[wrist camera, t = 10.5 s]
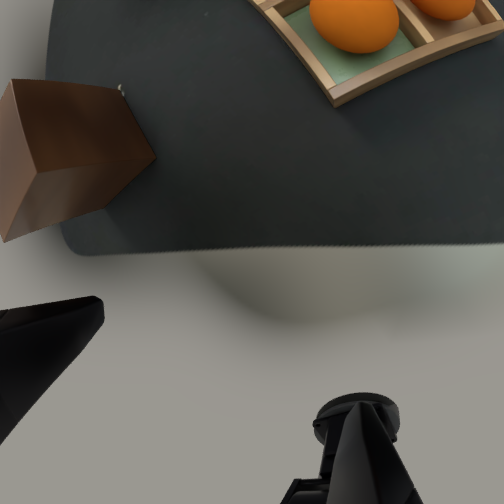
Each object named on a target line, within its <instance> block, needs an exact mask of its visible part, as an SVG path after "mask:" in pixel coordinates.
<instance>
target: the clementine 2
mask: <svg viewBox="0 0 504 504" xmlns="http://www.w3.org/2000/svg"><path fill="white" fill-rule="evenodd" d="M410 1H411V2H412V3H413V4H414V5H415V6H416V7H417V8H418V9H420V10H421V11H422V12H424V13H426V14H427V15H429V16H431V17H434V18H437V19H440V20H445V21H456V20H461V19H463V18H465V17H467V16H468V15H469V14H470V13H471V12H472V10H473V8H474V6H475V0H410Z"/></svg>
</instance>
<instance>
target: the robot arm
mask: <svg viewBox="0 0 504 504" xmlns="http://www.w3.org/2000/svg"><path fill="white" fill-rule="evenodd" d="M104 319H105V317H104V304H103V301H102V300H101V299H99V298H98V297H96V296H87V297H81V298H75V299H69V300H63V301H57V302H51V303H44V304H38V305H32V306H26V307H19V308H13V309H9V310H8V309H6V310H0V445H1V444H2V442H3V441H4V440H5V439H6V437H7V436H8V435H9V434H10V433H11V431H12V430H13V429H14V428H15V426H16V425H17V424H18V422H19V421H20V420H21V419H22V418H23V417H24V415H25V414H26V413H27V412H28V410H30V408H31V407H32V406H33V405H34V404H35V403H36V402H37V400H38V399H39V398H40V397H41V396H42V395H43V393H44V392H45V391H46V390H47V389H48V388H49V387H50V385H52V383H53V382H54V381H55V380H56V379H57V378H58V377H59V376H60V375H61V374H62V372H63V371H64V370H65V369H66V368H67V367H68V366H69V365H70V364H71V363H72V362H73V361H74V359H75V358H76V357H77V356H78V355H79V354H80V353H81V352H82V350H83V349H84V348H85V347H86V345H87V344H88V342H89V341H90V340H91V339H92V337H93V336H94V335H95V333H96V332H97V331H98V330H99V328H100V327H101V326H102V324H103V323H104ZM313 427H314V428H315V430H316V431H317V432H318V434H319V435H320V436H321V438H322V439H323V440H324V442H325V445H324V450H323V456H322V462H321V467H320V472H319V477H318V479H294V480H293V482H292V484H291V486H290V487H289V489H288V491H287V493H286V494H285V497H284V498H283V500H282V502H281V503H280V504H423V502H422V500H421V498H420V496H419V494H418V492H417V490H416V488H414V484H413V482H412V481H411V479H410V476H409V474H408V472H407V470H406V469H405V466H404V465H403V463H402V461H401V459H400V457H399V455H398V453H397V451H396V449H395V447H394V445H393V443H394V442H396V441H397V435H396V433H395V430H394V428H393V426H392V423H391V421H390V419H389V417H388V414H387V412H386V410H385V408H384V406H383V404H382V403H374V404H371V403H368V402H364V401H358V402H357V403H356V404H355V406H354V407H353V408H352V410H351V411H347V412H343V413H340V414H336V415H332V416H328V417H323V418H319V419H315V420H314V421H313Z"/></svg>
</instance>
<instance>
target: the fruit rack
mask: <svg viewBox="0 0 504 504" xmlns="http://www.w3.org/2000/svg"><path fill="white" fill-rule="evenodd" d="M248 1H249V2H250V3H251V4H252V5H253V6H254V7H255V8H256V10H257V11H258V12H259V13H260V14H261V15H262V16H263V17H264V18H265V19H266V20H267V21H268V23H269V24H270V25H271V26H272V27H273V28H274V29H275V30H276V32H277V33H278V34H279V35H280V36H281V37H282V39H283V40H284V41H285V42H286V43H287V45H288V46H289V47H290V48H291V50H292V51H293V52H294V53H295V55H296V56H297V57H298V58H299V60H300V61H301V62H302V63H303V65H304V66H305V67H306V69H307V70H308V71H309V73H310V74H311V75H312V77H313V78H314V80H315V81H316V82H317V84H318V85H319V87H320V88H321V89H322V91H323V92H324V94H325V95H326V97H327V98H328V100H329V101H330V102H331V104H332V105H333V107H334V108H337V107H338V106H340V105H342V104H344V103H346V102H348V101H350V100H352V99H354V98H356V97H357V96H359V95H361V94H363V93H365V92H367V91H369V90H371V89H373V88H375V87H377V86H379V85H382V84H384V83H386V82H388V81H390V80H392V79H394V78H396V77H398V76H401V75H403V74H405V73H407V72H409V71H412V70H414V69H416V68H418V67H421V66H423V65H425V64H428V63H430V62H433V61H435V60H437V59H440V58H442V57H445V56H447V55H450V54H452V53H455V52H458V51H460V50H463V49H466V48H469V47H471V46H474V45H477V44H480V43H483V42H486V41H489V40H492V39H494V38H495V37H496V36H498V35H499V34H500V33H502V32H503V31H504V21H503V20H502V18H501V17H500V16H499V14H498V13H497V12H496V10H495V9H494V8H493V6H492V5H491V4H490V3H489V1H488V0H475V6H474V8H473V10H472V12H471V13H470V14H469V15H468V16H467V17H465V18H463V19H461V20H456V21H445V20H440V19H437V18H434V17H431V16H429V15H427V14H426V13H424V12H422V11H421V10H420V9H418V8H417V7H416V6H415V5H414V4H413V3H412V2H411V1H410V0H393V2H394V4H395V6H396V8H397V11H398V15H399V27H398V31H397V33H396V36H395V37H394V39H393V40H392V41H391V42H390V43H389V44H388V45H387V46H386V47H384V48H382V49H380V50H378V51H375V52H371V53H352V52H348V51H344V50H341V49H339V48H337V47H335V46H333V45H332V44H330V43H329V42H327V41H326V40H325V39H324V38H323V37H322V36H321V35H320V34H319V33H318V31H317V30H316V29H315V27H314V25H313V23H312V20H311V17H310V11H309V7H310V0H248Z"/></svg>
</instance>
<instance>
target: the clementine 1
mask: <svg viewBox="0 0 504 504" xmlns="http://www.w3.org/2000/svg"><path fill="white" fill-rule="evenodd" d="M309 11H310V17H311V20H312V23H313V25H314V27H315V29H316V30H317V31H318V33H319V34H320V35H321V36H322V37H323V38H324V39H325V40H326V41H327V42H329V43H330V44H332V45H333V46H335V47H337V48H339V49H341V50H344V51H348V52H352V53H371V52H375V51H378V50H380V49H382V48H384V47H386V46H387V45H388V44H389V43H390V42H391V41H392V40H393V39H394V37H395V36H396V33H397V31H398V27H399V15H398V11H397V8H396V6H395V4H394V2H393V0H310V7H309Z"/></svg>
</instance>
